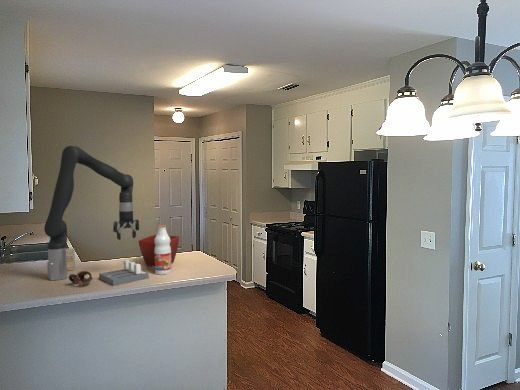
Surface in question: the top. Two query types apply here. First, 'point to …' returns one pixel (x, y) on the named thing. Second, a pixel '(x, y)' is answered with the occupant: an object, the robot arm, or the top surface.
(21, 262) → the top surface
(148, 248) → the plant pot
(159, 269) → the fruit juice
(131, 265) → the breaker
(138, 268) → the breaker near
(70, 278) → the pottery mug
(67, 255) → the supplement box
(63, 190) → the robot arm
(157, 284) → the top surface
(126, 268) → the block
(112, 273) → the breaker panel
